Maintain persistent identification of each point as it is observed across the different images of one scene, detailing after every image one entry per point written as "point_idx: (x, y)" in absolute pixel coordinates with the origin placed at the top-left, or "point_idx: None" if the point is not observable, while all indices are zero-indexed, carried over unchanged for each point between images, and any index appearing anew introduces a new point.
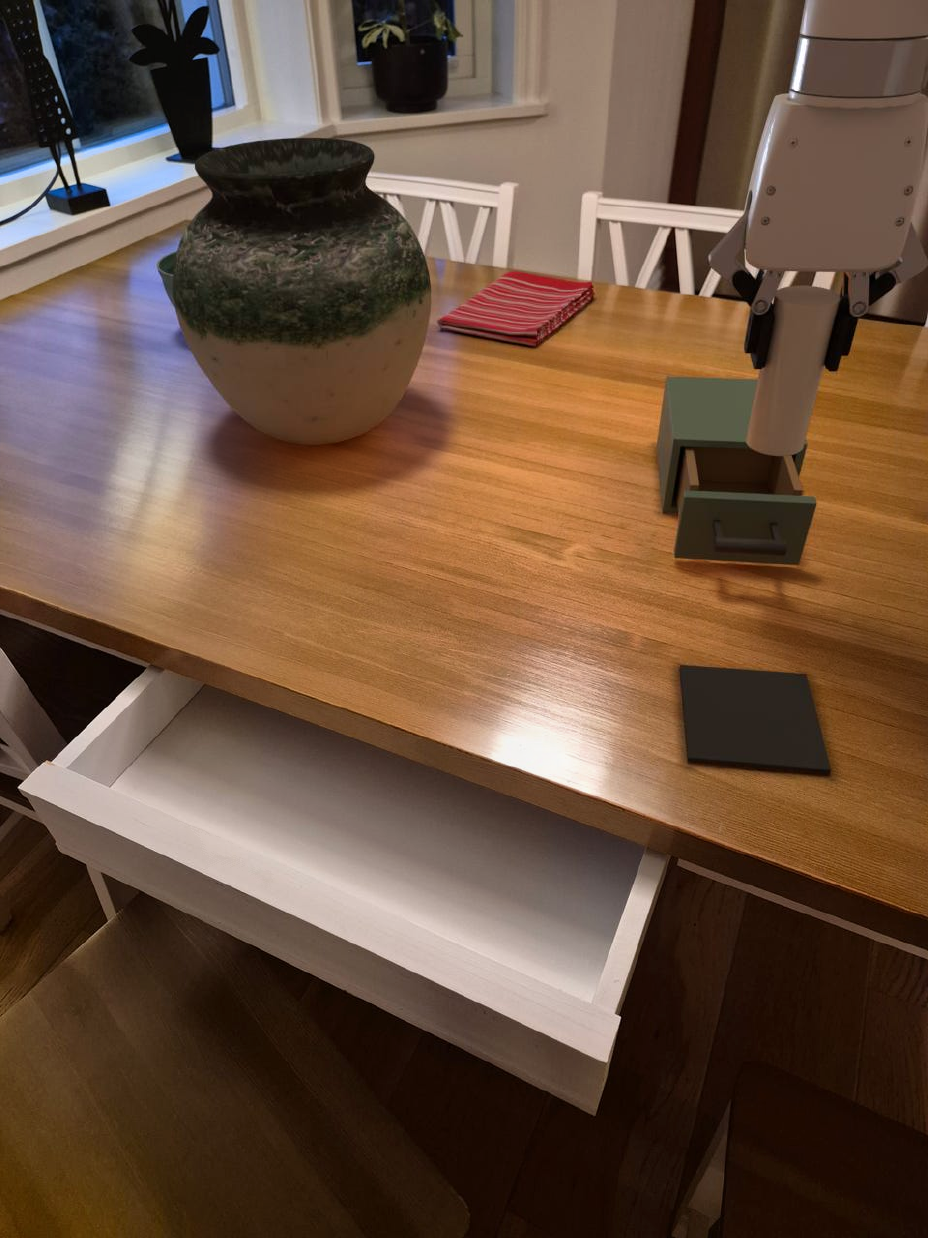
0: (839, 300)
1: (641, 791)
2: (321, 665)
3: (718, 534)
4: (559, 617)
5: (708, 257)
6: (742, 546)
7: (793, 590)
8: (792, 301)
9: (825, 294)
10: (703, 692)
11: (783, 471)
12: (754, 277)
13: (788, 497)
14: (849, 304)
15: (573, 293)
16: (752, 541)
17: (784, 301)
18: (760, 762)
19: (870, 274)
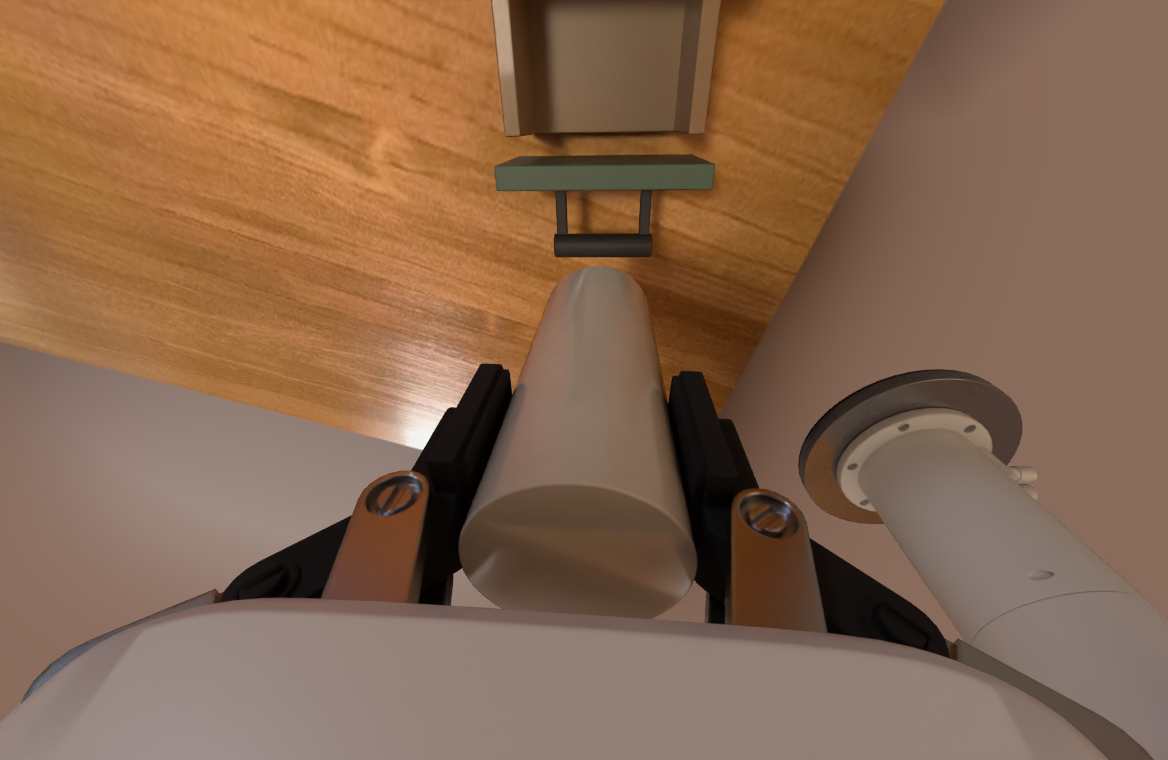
0: (679, 600)
1: None
2: (229, 377)
3: (560, 229)
4: (407, 294)
5: (49, 671)
6: (590, 256)
7: (673, 214)
8: (517, 603)
9: (644, 565)
10: None
11: (698, 7)
12: (340, 550)
13: (669, 173)
14: (705, 611)
15: None
16: (604, 251)
17: (491, 600)
18: None
19: (847, 635)
